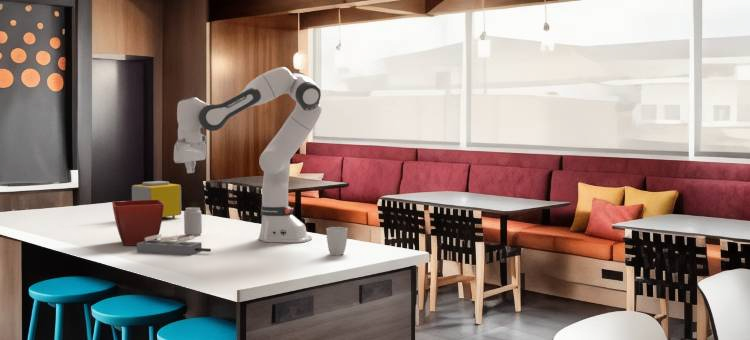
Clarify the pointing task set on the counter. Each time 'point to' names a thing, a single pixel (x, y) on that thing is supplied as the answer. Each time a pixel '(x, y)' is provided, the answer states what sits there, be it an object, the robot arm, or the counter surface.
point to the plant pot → (137, 219)
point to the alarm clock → (160, 195)
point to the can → (192, 221)
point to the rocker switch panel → (170, 247)
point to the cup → (336, 240)
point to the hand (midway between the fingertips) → (190, 172)
